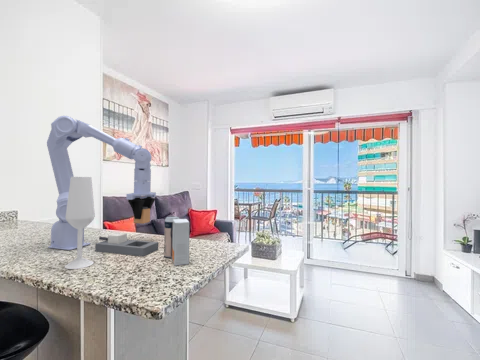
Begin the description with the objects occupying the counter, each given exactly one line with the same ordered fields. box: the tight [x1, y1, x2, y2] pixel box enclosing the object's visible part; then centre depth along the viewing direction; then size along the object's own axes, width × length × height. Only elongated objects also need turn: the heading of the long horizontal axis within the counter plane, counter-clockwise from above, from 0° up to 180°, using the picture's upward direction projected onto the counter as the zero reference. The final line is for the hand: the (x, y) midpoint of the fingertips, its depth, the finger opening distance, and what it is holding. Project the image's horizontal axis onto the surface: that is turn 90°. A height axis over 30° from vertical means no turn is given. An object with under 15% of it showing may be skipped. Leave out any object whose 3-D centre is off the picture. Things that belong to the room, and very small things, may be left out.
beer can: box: [163, 216, 180, 259], centre depth 75 cm, size 5×5×12 cm
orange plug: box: [133, 207, 151, 225], centre depth 90 cm, size 4×4×6 cm
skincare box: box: [171, 218, 190, 266], centre depth 70 cm, size 6×4×12 cm
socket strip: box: [94, 232, 159, 257], centre depth 81 cm, size 20×8×5 cm, turn 76°
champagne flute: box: [64, 176, 96, 270], centre depth 67 cm, size 7×7×24 cm
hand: (141, 217), depth 90 cm, fingers closed on orange plug, 4 cm apart
